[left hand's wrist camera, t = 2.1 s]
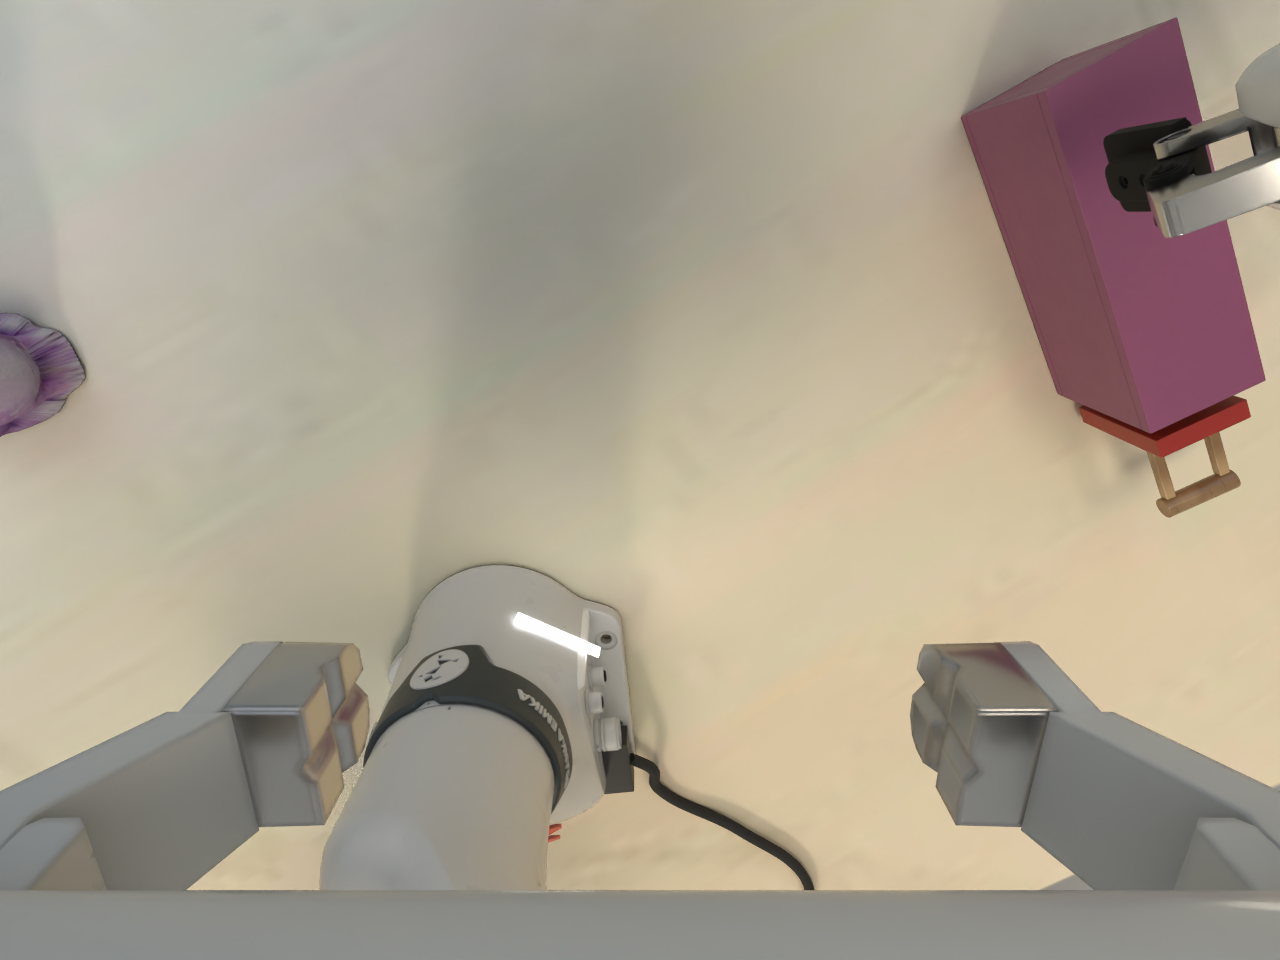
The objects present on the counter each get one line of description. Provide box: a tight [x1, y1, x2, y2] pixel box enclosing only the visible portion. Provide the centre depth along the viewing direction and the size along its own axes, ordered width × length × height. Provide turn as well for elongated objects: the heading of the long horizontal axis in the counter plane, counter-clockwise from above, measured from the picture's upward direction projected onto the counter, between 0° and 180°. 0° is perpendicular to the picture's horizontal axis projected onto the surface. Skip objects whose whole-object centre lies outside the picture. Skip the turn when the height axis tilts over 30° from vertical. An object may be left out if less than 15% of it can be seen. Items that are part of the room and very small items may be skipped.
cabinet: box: [961, 18, 1265, 434], centre depth 41 cm, size 19×6×9 cm, turn 29°
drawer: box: [1079, 396, 1251, 517], centre depth 42 cm, size 24×5×8 cm, turn 29°
